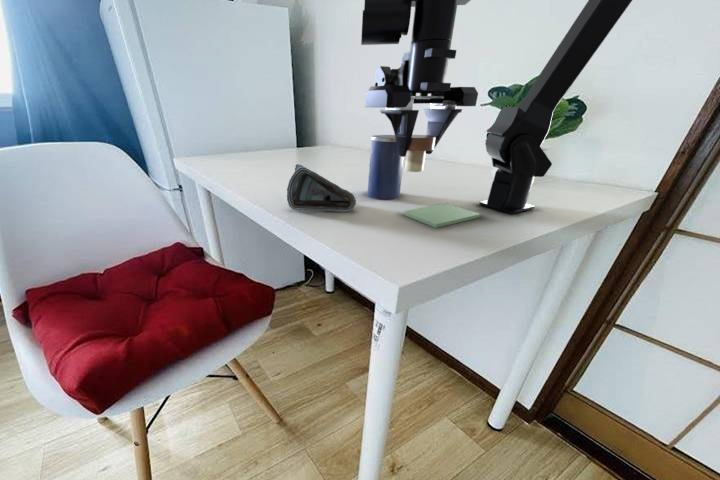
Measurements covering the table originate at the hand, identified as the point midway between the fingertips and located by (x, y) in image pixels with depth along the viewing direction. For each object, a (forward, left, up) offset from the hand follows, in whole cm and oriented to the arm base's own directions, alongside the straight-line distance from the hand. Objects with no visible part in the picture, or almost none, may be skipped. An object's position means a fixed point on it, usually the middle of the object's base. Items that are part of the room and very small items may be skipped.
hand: (415, 155), depth 52 cm
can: (0, -7, -9) cm, 11 cm away
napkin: (0, +8, -9) cm, 11 cm away
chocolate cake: (+14, -7, -9) cm, 18 cm away
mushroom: (0, 0, -3) cm, 2 cm away
